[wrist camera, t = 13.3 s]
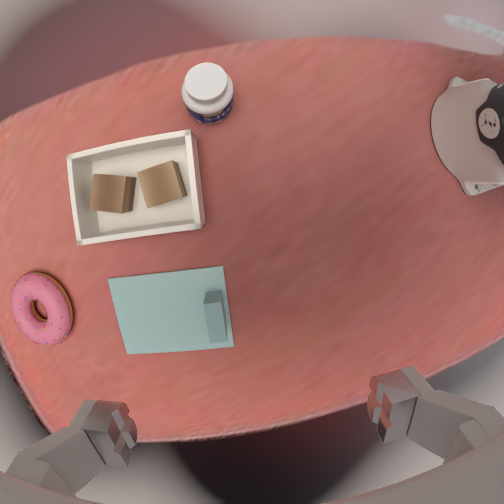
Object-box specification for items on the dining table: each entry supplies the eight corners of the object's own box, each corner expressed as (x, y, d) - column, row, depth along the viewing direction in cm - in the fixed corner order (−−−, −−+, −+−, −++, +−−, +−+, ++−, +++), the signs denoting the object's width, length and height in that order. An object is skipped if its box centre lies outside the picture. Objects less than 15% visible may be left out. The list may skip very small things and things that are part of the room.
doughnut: (22, 326, 38) (8, 337, 34) (19, 260, 36) (3, 268, 32) (77, 347, 39) (66, 360, 35) (78, 278, 37) (64, 287, 33)
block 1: (136, 177, 34) (126, 176, 30) (132, 210, 35) (121, 213, 31) (106, 174, 34) (93, 173, 30) (103, 207, 34) (89, 209, 31)
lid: (223, 264, 38) (222, 275, 33) (233, 342, 41) (234, 362, 36) (110, 276, 37) (95, 288, 33) (129, 350, 40) (119, 369, 35)
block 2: (178, 162, 34) (171, 160, 30) (187, 195, 35) (182, 196, 31) (146, 173, 34) (136, 172, 30) (155, 205, 35) (147, 208, 31)
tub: (196, 138, 34) (190, 129, 28) (205, 221, 36) (201, 228, 31) (88, 158, 34) (66, 155, 28) (98, 236, 36) (77, 245, 30)
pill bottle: (208, 134, 34) (201, 118, 26) (179, 104, 33) (165, 81, 25) (242, 105, 34) (246, 82, 25) (212, 76, 33) (208, 46, 24)
